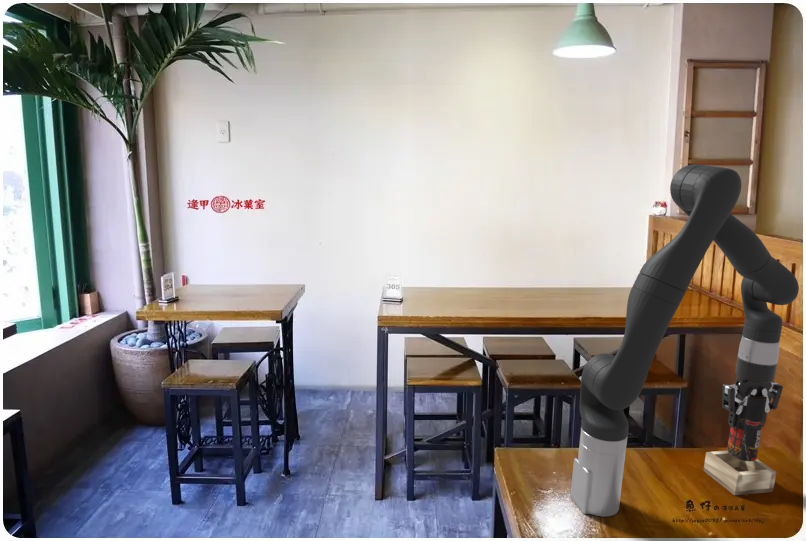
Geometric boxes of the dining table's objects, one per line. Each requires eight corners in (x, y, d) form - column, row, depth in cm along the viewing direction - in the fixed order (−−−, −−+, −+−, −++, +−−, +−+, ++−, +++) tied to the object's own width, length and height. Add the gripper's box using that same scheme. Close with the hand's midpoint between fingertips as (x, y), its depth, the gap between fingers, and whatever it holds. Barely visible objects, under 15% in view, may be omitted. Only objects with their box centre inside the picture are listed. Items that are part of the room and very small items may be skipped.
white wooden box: (734, 495, 124) (737, 475, 123) (703, 470, 133) (706, 452, 132) (772, 491, 126) (776, 472, 125) (739, 467, 135) (742, 449, 134)
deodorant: (729, 445, 132) (738, 386, 129) (758, 453, 128) (768, 394, 125) (724, 454, 128) (734, 394, 125) (754, 464, 124) (765, 402, 121)
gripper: (742, 365, 118) (730, 436, 122) (799, 362, 121) (786, 432, 124) (717, 352, 126) (706, 420, 129) (771, 350, 128) (760, 417, 132)
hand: (746, 426), depth 127 cm, fingers closed on deodorant, 6 cm apart
